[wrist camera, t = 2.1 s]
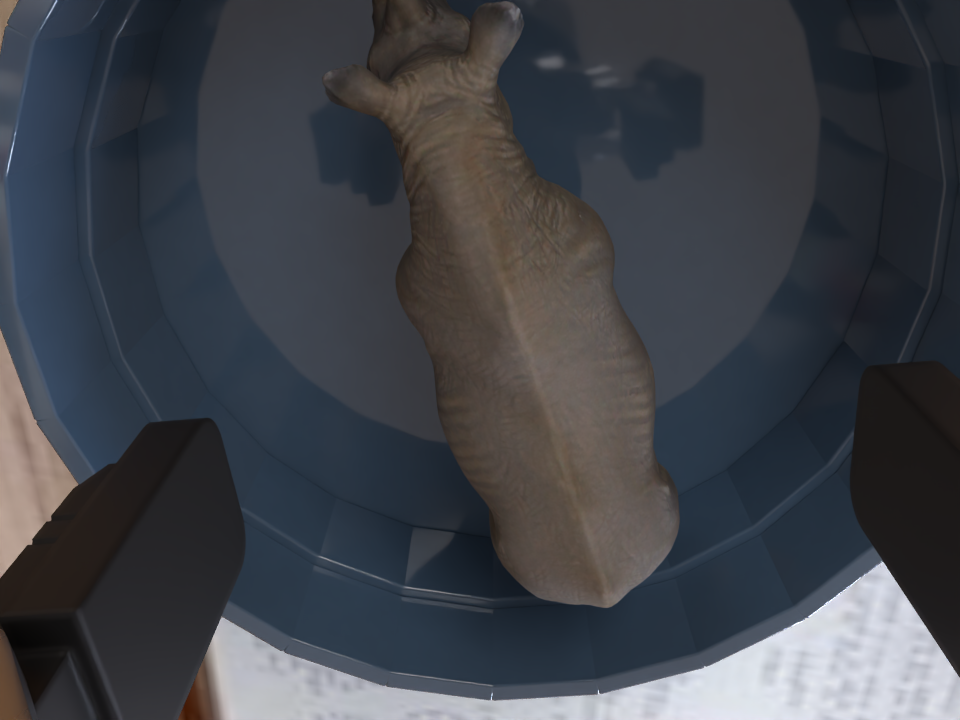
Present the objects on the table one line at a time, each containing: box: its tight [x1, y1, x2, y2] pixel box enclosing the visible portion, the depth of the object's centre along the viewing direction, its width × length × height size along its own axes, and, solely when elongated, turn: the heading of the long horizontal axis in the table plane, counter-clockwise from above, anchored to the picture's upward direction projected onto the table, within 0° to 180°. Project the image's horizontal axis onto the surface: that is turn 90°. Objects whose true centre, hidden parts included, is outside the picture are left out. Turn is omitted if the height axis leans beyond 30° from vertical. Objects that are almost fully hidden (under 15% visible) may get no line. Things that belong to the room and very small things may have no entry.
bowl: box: [0, 0, 960, 701], centre depth 16 cm, size 17×17×5 cm
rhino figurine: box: [322, 0, 680, 608], centre depth 15 cm, size 4×14×6 cm, turn 19°
